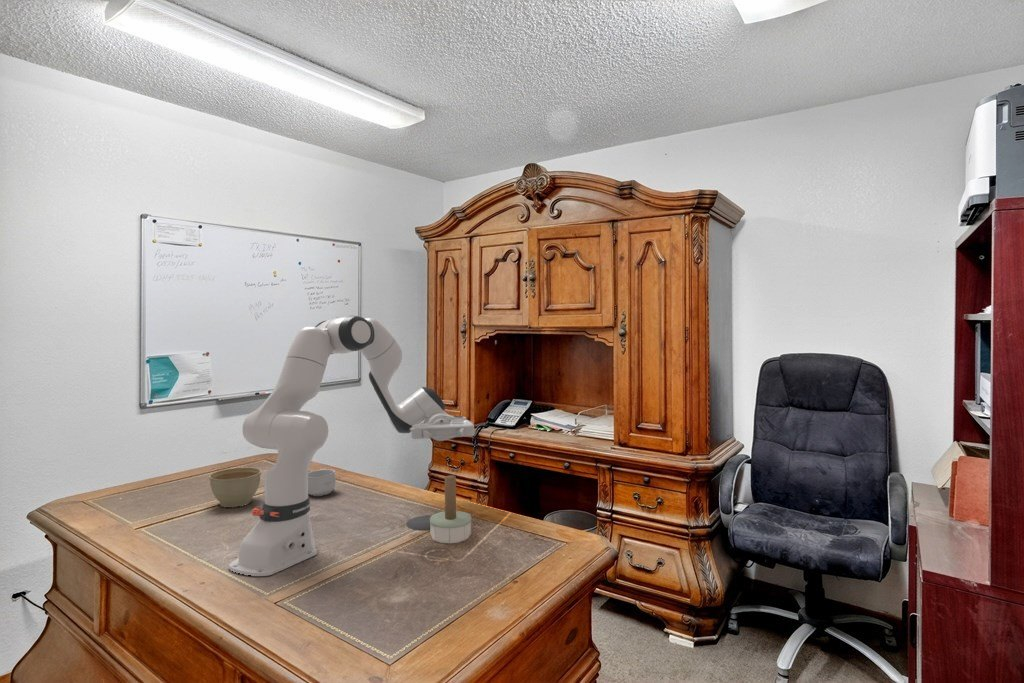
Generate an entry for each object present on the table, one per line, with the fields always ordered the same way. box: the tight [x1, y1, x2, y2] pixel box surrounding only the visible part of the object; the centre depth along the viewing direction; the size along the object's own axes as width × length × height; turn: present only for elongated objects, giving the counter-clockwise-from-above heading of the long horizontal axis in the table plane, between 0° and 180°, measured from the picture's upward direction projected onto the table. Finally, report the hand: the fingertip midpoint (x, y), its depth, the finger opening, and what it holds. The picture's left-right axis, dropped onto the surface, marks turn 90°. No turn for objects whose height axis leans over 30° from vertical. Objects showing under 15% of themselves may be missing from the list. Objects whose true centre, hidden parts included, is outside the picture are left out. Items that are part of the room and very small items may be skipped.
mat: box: [405, 514, 433, 532], centre depth 168 cm, size 13×13×1 cm
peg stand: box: [430, 474, 472, 528], centre depth 158 cm, size 12×12×13 cm
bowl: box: [429, 521, 472, 544], centre depth 158 cm, size 11×11×5 cm
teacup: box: [308, 468, 336, 497], centre depth 201 cm, size 14×11×8 cm
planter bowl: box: [208, 467, 262, 508], centre depth 189 cm, size 16×16×11 cm
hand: (445, 435), depth 169 cm, fingers open, 8 cm apart
